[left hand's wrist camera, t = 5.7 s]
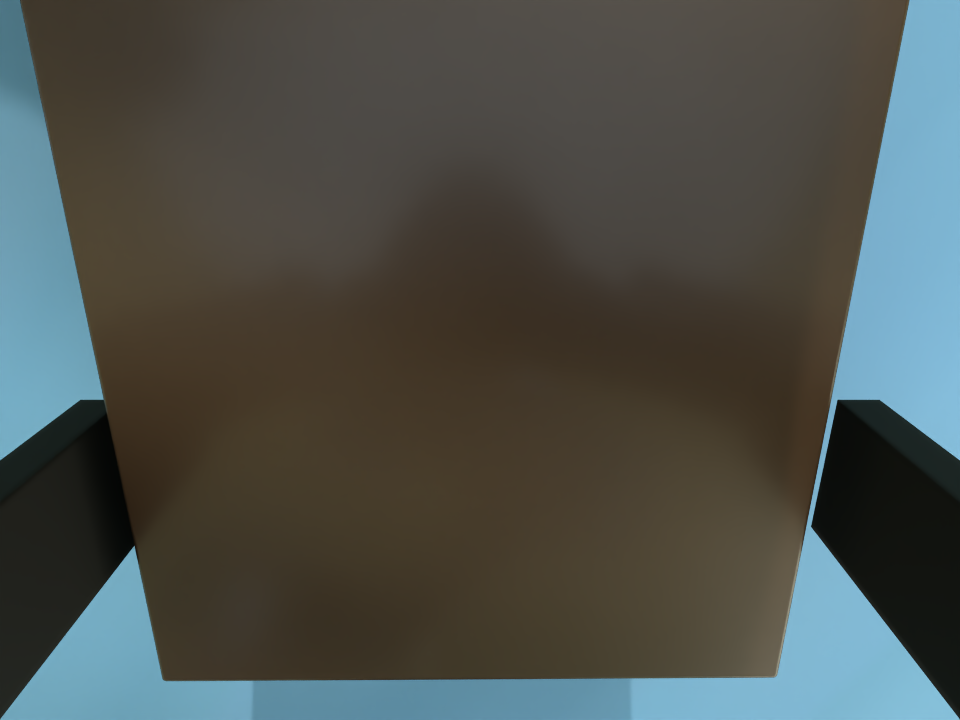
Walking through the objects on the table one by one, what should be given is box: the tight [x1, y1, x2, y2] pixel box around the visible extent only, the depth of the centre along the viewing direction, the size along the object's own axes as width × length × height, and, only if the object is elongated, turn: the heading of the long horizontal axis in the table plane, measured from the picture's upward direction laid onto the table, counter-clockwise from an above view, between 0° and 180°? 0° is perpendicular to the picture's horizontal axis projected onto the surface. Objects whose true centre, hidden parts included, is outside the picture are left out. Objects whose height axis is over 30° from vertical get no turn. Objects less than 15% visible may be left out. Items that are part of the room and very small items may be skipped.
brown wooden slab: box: [20, 0, 909, 681], centre depth 13 cm, size 20×11×8 cm, turn 0°
